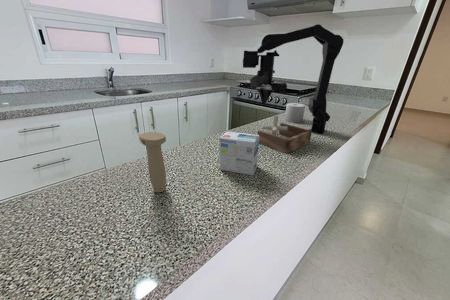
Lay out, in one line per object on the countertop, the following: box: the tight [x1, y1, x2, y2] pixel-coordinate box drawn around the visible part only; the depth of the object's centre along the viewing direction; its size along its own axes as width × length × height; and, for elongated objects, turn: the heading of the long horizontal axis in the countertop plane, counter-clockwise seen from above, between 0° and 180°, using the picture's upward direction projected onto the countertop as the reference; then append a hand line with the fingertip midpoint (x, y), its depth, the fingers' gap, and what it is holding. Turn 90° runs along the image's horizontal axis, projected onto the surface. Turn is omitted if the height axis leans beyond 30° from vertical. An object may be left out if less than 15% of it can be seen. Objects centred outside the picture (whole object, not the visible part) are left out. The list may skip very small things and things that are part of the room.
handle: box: [138, 131, 167, 193], centre depth 52 cm, size 5×6×15 cm
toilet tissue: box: [284, 102, 306, 124], centre depth 116 cm, size 9×13×9 cm
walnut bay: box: [256, 122, 313, 154], centre depth 85 cm, size 16×14×5 cm
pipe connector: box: [261, 115, 288, 135], centre depth 87 cm, size 10×10×10 cm
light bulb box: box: [219, 131, 260, 176], centre depth 64 cm, size 11×7×11 cm, turn 71°
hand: (263, 104), depth 97 cm, fingers closed
